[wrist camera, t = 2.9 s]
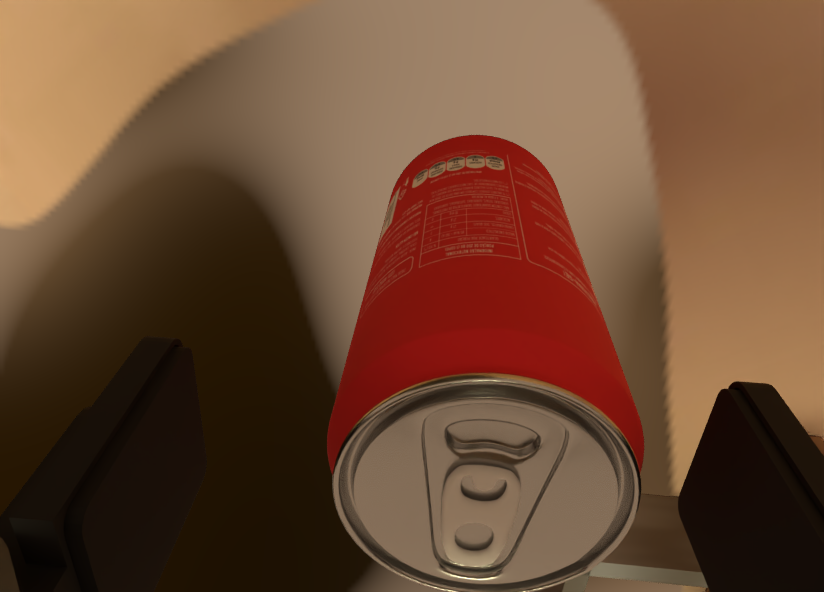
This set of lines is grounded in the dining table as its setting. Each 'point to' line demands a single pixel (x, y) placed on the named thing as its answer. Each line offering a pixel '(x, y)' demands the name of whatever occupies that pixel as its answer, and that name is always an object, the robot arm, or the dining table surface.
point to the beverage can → (483, 386)
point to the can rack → (651, 548)
